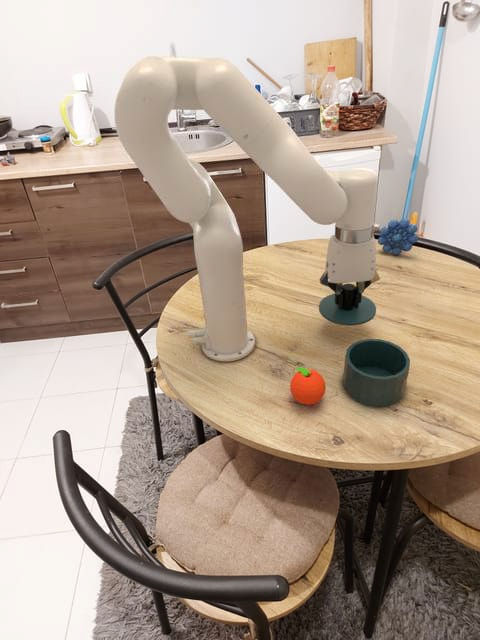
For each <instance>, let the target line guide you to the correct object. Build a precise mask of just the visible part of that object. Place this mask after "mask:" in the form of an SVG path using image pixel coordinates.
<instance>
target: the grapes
mask: <svg viewBox="0 0 480 640" xmlns="http://www.w3.org/2000/svg"><path fill="white" fill-rule="evenodd" d="M417 231H418V225H416V224H415V223H411V224H410V220H409V219H408V218H402V219H400V221H399V220H397V219H391V220H389V222H388V224H387V226H386V225H385V226H382V227H381V228H380V230H379V234H380V235H381V236H379V238H378V239H377V243H378V245H380V246H382V251H383V252H384V253H390V252H391V253H392V255H394V256H399V255H400V254H401V253H402V252H409V251H412V249H413V244H415V243H417V242H418V240H419V235H418V234H417V233H416V232H417Z"/></svg>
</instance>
